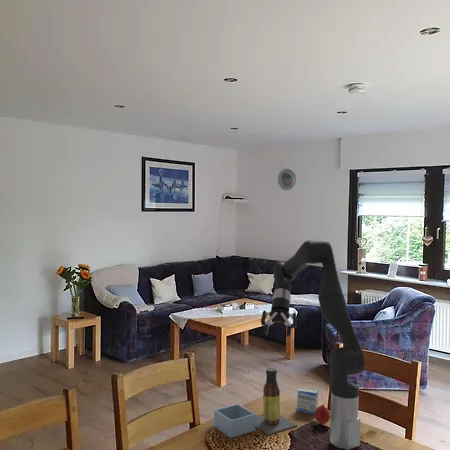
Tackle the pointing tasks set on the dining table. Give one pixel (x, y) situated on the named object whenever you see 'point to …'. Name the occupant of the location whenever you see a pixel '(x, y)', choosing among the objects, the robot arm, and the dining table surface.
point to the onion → (322, 414)
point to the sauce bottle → (271, 398)
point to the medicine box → (307, 400)
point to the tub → (234, 420)
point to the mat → (270, 429)
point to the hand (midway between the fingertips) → (276, 335)
